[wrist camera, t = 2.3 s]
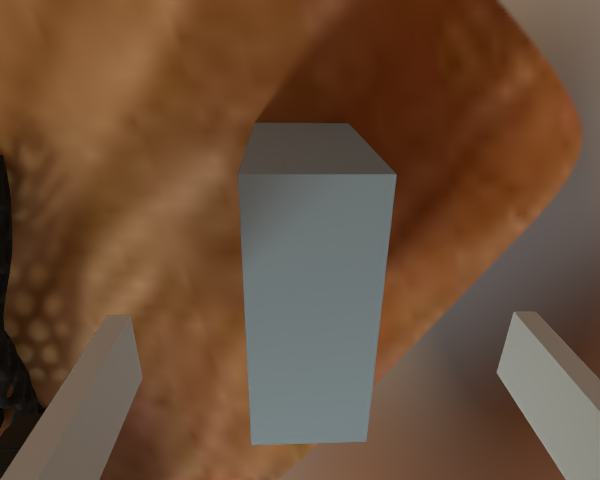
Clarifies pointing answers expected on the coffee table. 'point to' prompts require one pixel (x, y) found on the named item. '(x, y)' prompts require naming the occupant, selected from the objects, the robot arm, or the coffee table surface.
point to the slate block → (312, 278)
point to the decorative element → (3, 357)
